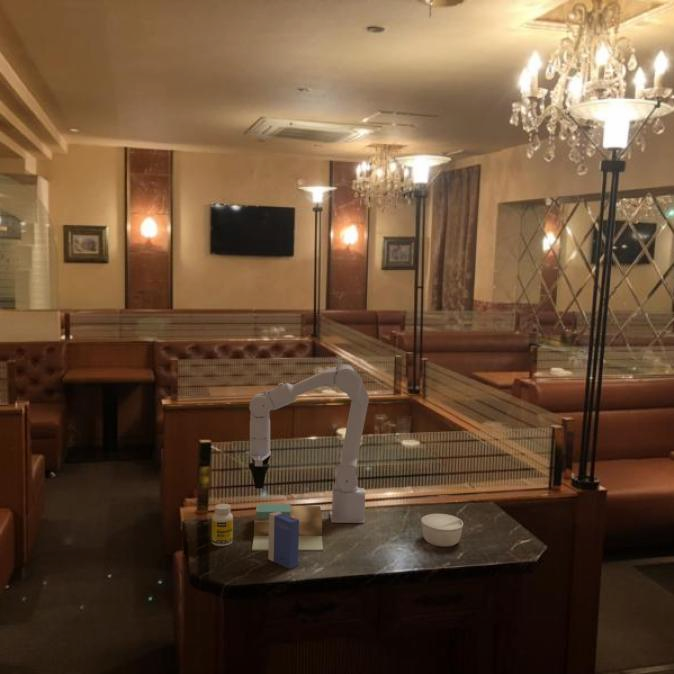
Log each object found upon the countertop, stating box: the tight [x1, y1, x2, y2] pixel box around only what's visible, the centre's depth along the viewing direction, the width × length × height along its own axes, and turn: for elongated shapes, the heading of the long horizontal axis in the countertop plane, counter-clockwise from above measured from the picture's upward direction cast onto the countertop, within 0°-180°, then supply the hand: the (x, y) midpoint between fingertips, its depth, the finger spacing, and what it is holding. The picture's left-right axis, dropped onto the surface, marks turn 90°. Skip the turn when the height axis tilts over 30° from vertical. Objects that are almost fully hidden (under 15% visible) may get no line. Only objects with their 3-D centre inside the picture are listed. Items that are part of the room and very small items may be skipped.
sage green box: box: [256, 503, 292, 519], centre depth 188 cm, size 9×6×2 cm, turn 93°
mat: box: [251, 535, 324, 552], centre depth 179 cm, size 18×8×1 cm, turn 93°
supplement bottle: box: [211, 503, 234, 547], centre depth 178 cm, size 5×5×10 cm
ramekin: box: [420, 513, 464, 548], centre depth 184 cm, size 11×11×5 cm
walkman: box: [267, 511, 299, 570], centre depth 167 cm, size 8×3×12 cm, turn 47°
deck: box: [253, 505, 323, 537], centre depth 189 cm, size 18×12×4 cm, turn 93°
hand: (259, 483), depth 195 cm, fingers open, 7 cm apart
